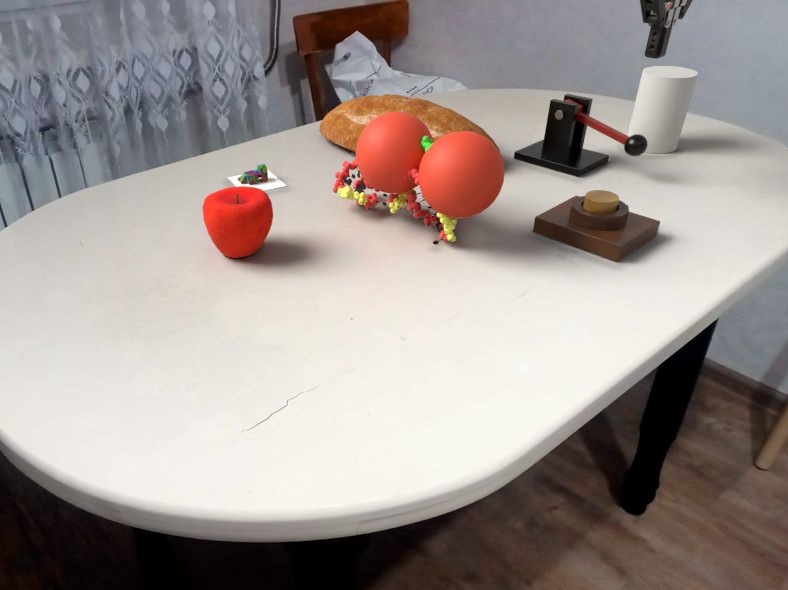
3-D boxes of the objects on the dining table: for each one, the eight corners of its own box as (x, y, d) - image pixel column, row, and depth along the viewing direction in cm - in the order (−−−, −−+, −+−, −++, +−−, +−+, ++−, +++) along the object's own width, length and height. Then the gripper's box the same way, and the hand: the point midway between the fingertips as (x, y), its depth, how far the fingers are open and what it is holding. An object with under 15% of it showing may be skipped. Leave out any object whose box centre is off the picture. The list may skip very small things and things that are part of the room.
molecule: (516, 228, 88) (526, 124, 77) (471, 276, 84) (475, 173, 72) (370, 174, 101) (360, 78, 89) (324, 213, 96) (307, 117, 85)
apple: (266, 270, 81) (261, 211, 76) (198, 265, 82) (189, 207, 78) (283, 238, 88) (279, 182, 84) (220, 234, 90) (213, 179, 85)
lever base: (608, 162, 107) (622, 100, 102) (578, 177, 103) (591, 113, 97) (543, 145, 115) (553, 87, 109) (513, 158, 110) (522, 98, 104)
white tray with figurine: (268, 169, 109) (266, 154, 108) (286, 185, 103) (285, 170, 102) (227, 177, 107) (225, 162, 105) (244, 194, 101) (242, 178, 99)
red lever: (645, 157, 100) (655, 137, 97) (634, 162, 98) (645, 143, 96) (563, 114, 107) (571, 95, 104) (552, 119, 105) (560, 99, 103)
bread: (352, 120, 129) (352, 73, 124) (520, 155, 111) (528, 101, 106) (294, 145, 119) (292, 94, 113) (470, 188, 100) (476, 129, 95)
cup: (671, 138, 116) (692, 66, 109) (681, 154, 109) (703, 78, 102) (622, 136, 117) (639, 65, 110) (628, 152, 111) (647, 77, 104)
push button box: (656, 236, 85) (664, 207, 83) (617, 262, 80) (625, 232, 78) (573, 210, 93) (578, 182, 91) (532, 232, 88) (537, 203, 85)
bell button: (621, 208, 84) (625, 195, 83) (605, 218, 82) (609, 204, 81) (593, 199, 87) (596, 187, 86) (576, 208, 85) (579, 195, 84)
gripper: (698, -95, 73) (657, 70, 83) (748, -100, 80) (704, 52, 90) (634, -95, 78) (602, 61, 88) (686, -100, 85) (651, 45, 95)
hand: (654, 56), depth 89 cm, fingers closed
